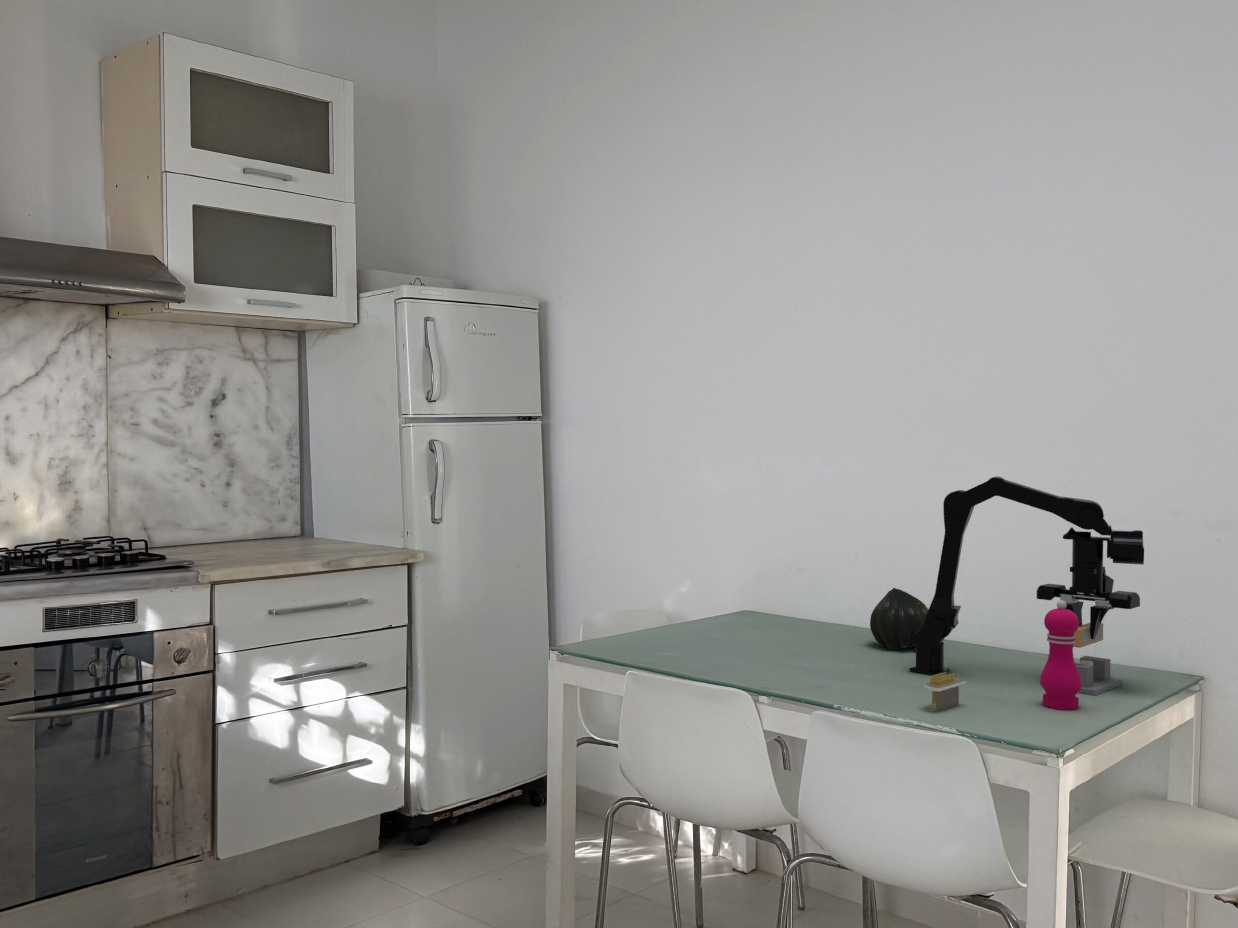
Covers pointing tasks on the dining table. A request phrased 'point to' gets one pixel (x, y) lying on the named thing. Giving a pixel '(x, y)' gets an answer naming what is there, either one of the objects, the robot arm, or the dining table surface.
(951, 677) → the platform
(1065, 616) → the pepper mill
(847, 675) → the dining table surface
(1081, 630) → the tan wooden bar
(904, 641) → the squash
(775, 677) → the dining table surface
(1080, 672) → the display stand
